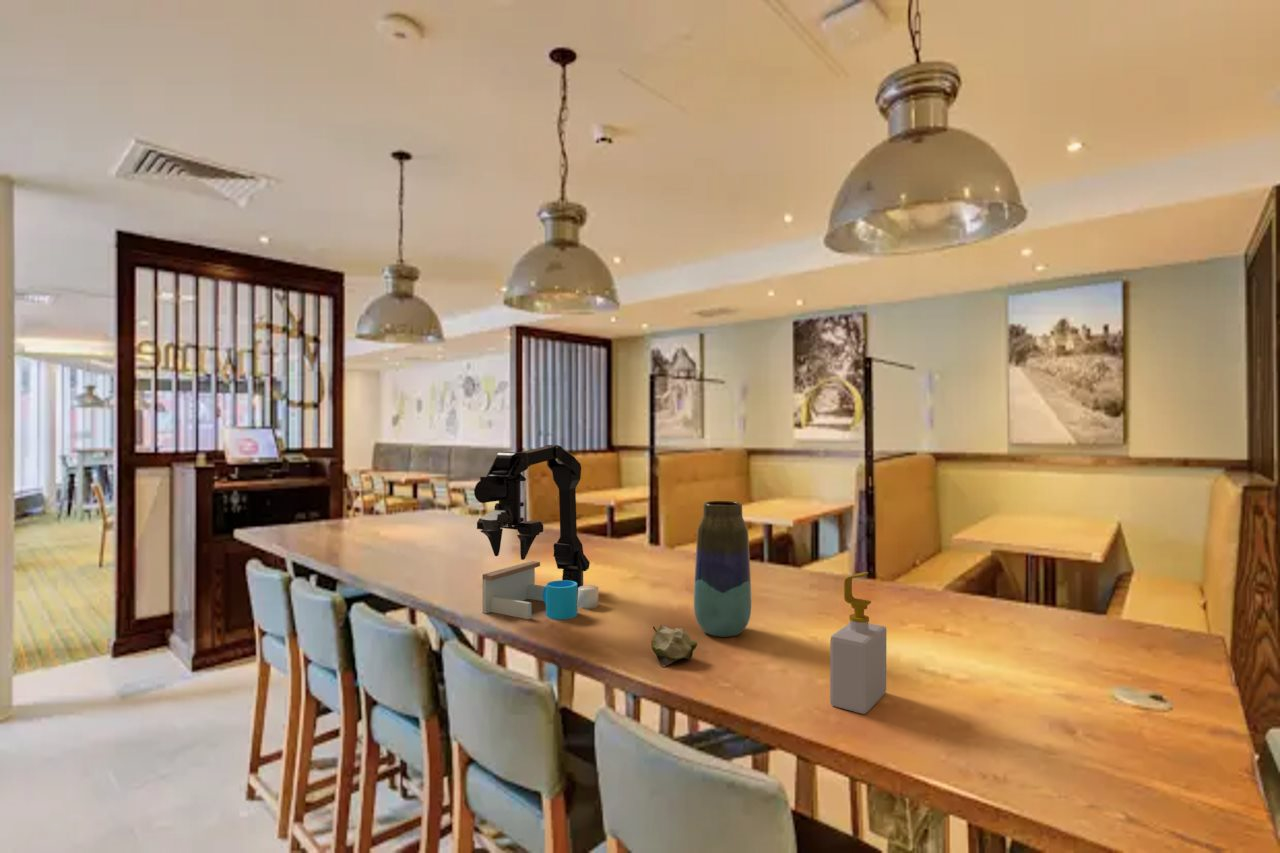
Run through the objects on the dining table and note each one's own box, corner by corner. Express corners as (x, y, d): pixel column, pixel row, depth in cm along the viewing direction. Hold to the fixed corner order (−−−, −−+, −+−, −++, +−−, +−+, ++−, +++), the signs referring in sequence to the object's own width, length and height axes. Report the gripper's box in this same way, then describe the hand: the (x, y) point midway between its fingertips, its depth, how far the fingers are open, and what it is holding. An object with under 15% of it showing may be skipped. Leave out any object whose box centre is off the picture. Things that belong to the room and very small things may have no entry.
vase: (682, 632, 159) (682, 503, 158) (716, 619, 169) (716, 498, 168) (729, 645, 149) (729, 508, 149) (762, 631, 159) (762, 502, 159)
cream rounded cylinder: (585, 602, 185) (585, 584, 185) (602, 604, 182) (602, 587, 182) (573, 606, 180) (573, 588, 180) (590, 609, 178) (590, 591, 178)
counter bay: (531, 595, 192) (531, 560, 192) (570, 602, 185) (570, 566, 184) (482, 612, 174) (482, 574, 174) (523, 621, 167) (523, 581, 167)
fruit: (644, 663, 142) (644, 624, 144) (682, 660, 146) (682, 623, 147) (662, 669, 134) (662, 628, 136) (702, 666, 138) (702, 626, 139)
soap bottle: (865, 716, 113) (866, 581, 113) (828, 706, 117) (829, 575, 117) (887, 693, 123) (888, 568, 123) (852, 684, 127) (853, 564, 127)
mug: (583, 614, 173) (583, 583, 173) (559, 621, 167) (559, 589, 167) (555, 605, 182) (555, 576, 181) (531, 611, 176) (531, 581, 176)
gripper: (461, 500, 172) (461, 559, 172) (516, 504, 163) (516, 567, 163) (491, 495, 182) (491, 552, 182) (544, 500, 172) (544, 559, 172)
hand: (509, 557), depth 174 cm, fingers open, 9 cm apart
